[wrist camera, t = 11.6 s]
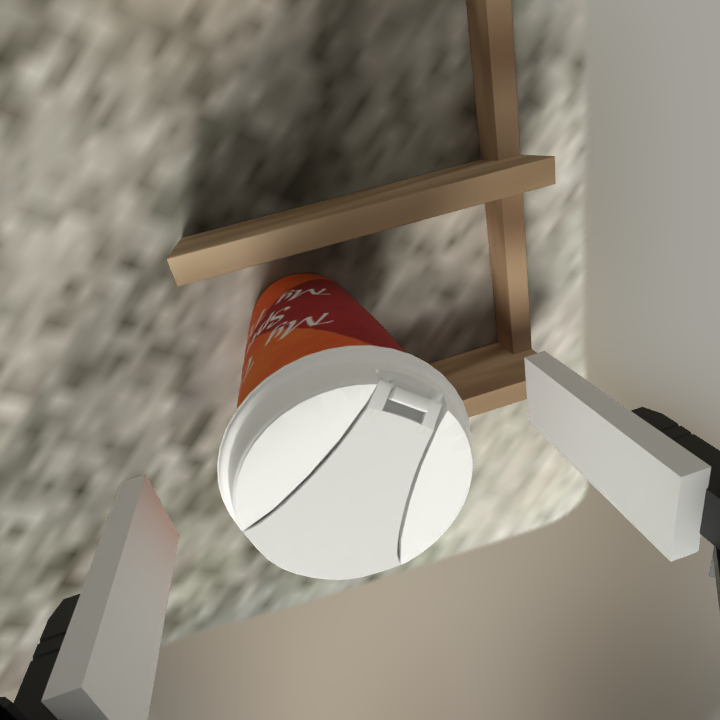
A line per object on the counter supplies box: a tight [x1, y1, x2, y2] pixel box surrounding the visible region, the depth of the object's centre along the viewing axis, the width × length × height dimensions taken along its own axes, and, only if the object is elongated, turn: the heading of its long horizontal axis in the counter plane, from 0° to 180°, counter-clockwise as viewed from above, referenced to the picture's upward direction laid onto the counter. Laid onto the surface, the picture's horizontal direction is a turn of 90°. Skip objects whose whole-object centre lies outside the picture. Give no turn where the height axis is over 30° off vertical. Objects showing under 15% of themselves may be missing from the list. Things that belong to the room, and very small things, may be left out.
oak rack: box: [167, 0, 555, 417], centre depth 20 cm, size 35×18×5 cm, turn 12°
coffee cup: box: [217, 273, 473, 580], centre depth 21 cm, size 8×8×15 cm
